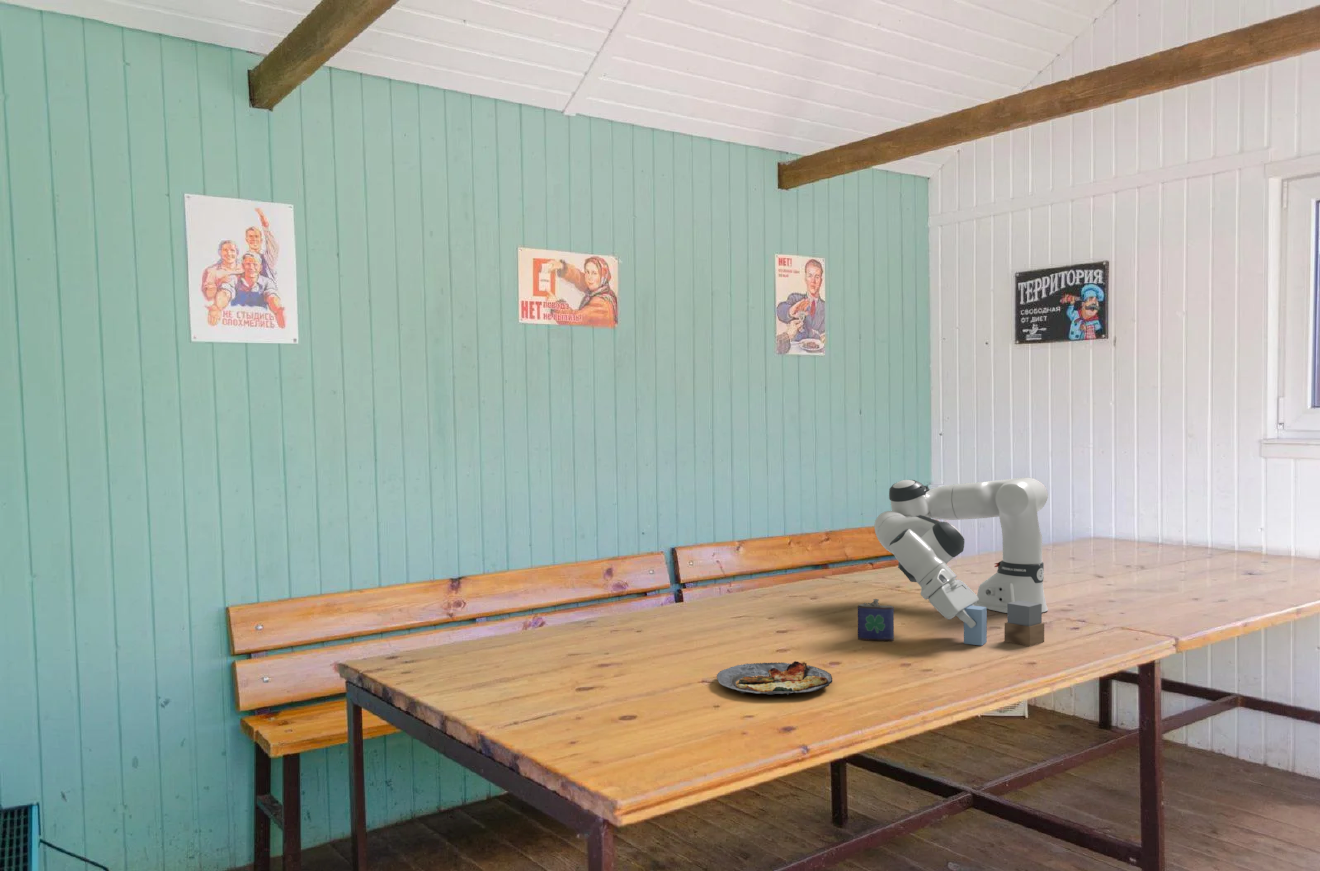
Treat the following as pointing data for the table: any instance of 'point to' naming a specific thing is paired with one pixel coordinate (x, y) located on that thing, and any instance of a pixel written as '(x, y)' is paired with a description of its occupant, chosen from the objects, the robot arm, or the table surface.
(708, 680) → the table surface
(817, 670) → the food plate
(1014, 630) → the tower base
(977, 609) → the pillar
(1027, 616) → the tower middle
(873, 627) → the flask
